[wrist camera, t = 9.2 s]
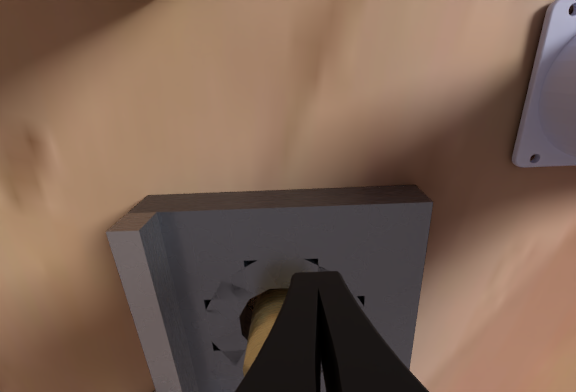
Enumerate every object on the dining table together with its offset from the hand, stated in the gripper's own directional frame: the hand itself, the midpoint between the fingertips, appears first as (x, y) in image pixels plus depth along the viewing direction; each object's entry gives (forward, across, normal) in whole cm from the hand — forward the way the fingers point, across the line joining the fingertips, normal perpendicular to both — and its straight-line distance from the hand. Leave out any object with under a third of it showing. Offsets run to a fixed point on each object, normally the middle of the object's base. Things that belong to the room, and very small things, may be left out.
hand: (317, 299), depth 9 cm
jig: (+10, +2, +8) cm, 13 cm away
